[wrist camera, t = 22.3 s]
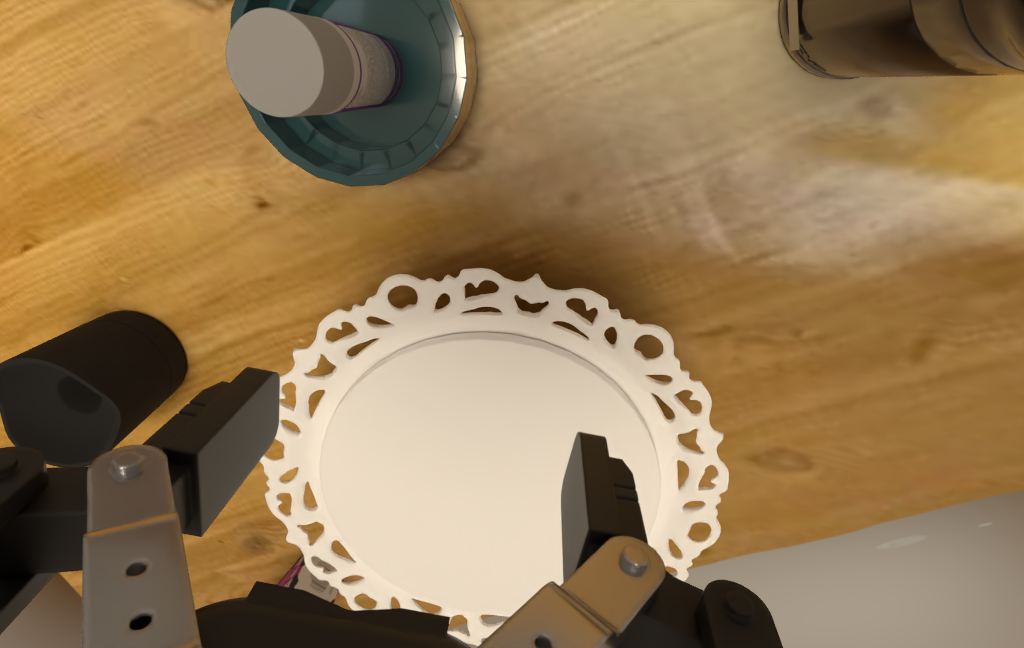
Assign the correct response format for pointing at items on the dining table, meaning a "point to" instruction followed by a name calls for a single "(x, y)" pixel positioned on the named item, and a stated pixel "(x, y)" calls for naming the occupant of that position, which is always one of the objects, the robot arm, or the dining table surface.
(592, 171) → the dining table surface
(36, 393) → the pen holder
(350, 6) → the bowl
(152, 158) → the dining table surface
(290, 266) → the dining table surface
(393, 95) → the container
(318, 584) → the candy bar box
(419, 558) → the bowl
